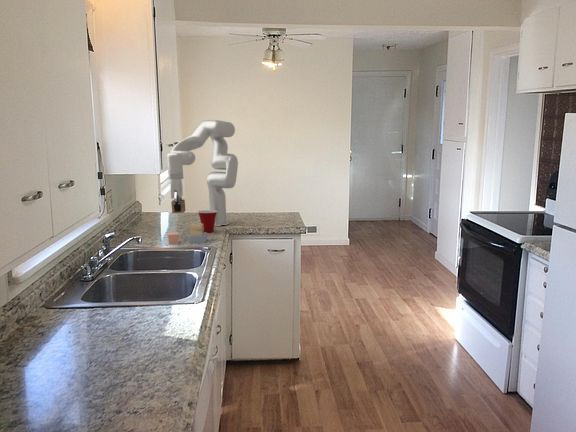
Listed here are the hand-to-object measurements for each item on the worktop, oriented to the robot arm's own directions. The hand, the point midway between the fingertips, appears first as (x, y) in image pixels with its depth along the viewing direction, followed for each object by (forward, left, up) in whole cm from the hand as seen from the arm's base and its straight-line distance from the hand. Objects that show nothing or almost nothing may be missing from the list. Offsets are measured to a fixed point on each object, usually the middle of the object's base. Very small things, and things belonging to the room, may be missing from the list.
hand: (178, 209), depth 264 cm
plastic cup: (-12, +14, -15) cm, 24 cm away
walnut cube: (0, 0, -1) cm, 1 cm away
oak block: (+10, +10, -11) cm, 19 cm away
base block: (+10, +11, -15) cm, 21 cm away
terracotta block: (+13, -1, -15) cm, 20 cm away
